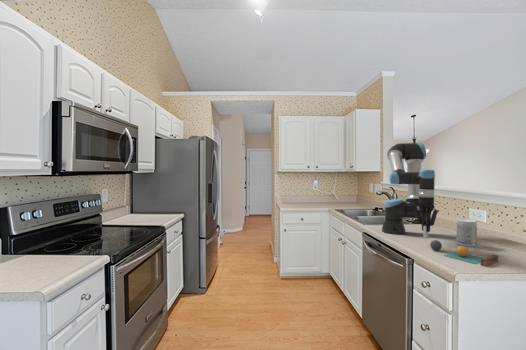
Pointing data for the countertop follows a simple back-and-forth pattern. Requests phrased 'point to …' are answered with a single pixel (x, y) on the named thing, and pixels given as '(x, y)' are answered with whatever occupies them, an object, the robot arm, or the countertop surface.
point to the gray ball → (436, 245)
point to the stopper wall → (489, 260)
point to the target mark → (465, 258)
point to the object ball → (462, 251)
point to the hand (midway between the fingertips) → (425, 236)
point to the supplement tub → (467, 232)
